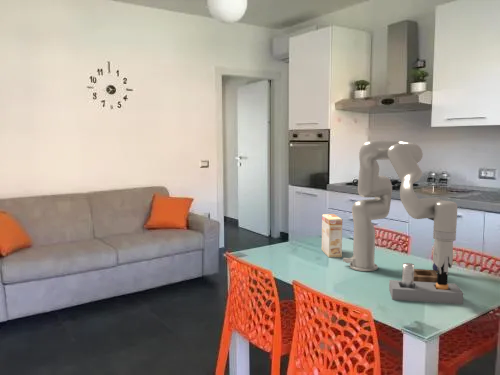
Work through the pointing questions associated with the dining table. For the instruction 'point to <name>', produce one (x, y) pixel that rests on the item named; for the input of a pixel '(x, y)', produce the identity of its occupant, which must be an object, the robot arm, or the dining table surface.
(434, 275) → the brown open square box
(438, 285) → the release button
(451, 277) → the dining table surface
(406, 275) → the silver metal cylinder
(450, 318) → the dining table surface
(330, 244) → the coffeecake box
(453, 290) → the socket block
